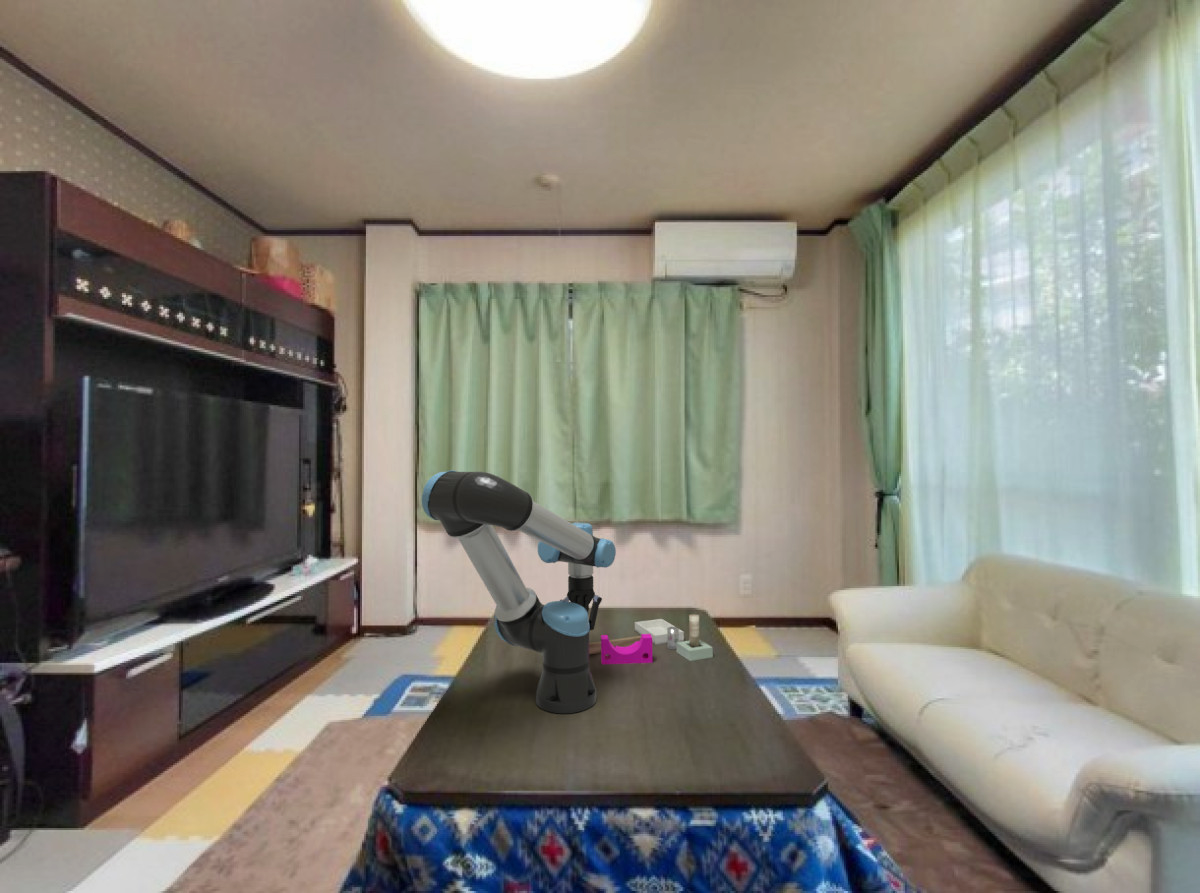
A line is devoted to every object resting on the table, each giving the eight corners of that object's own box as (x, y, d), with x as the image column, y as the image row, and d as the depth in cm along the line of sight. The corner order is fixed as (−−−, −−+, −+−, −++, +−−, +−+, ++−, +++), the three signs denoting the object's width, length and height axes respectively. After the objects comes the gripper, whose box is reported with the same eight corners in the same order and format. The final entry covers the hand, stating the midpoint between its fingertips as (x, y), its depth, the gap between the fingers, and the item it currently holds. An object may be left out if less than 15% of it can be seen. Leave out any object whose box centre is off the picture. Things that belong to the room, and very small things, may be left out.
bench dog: (680, 648, 173) (680, 629, 173) (670, 650, 172) (670, 631, 172) (675, 645, 176) (675, 626, 176) (665, 646, 175) (665, 627, 175)
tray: (683, 640, 180) (683, 631, 180) (655, 645, 176) (655, 635, 176) (661, 627, 195) (661, 618, 195) (634, 630, 191) (634, 622, 191)
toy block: (649, 655, 168) (649, 631, 168) (652, 663, 162) (652, 638, 162) (600, 657, 167) (600, 632, 167) (601, 665, 161) (601, 639, 161)
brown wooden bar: (647, 645, 176) (647, 636, 176) (582, 655, 168) (582, 645, 168) (645, 644, 177) (645, 635, 177) (581, 653, 169) (581, 643, 169)
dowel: (701, 655, 167) (700, 616, 167) (692, 657, 166) (692, 617, 166) (696, 652, 170) (695, 613, 170) (687, 653, 169) (687, 614, 169)
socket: (712, 657, 165) (712, 647, 165) (689, 661, 163) (689, 650, 163) (698, 648, 173) (698, 639, 173) (676, 652, 170) (676, 642, 170)
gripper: (596, 570, 169) (597, 647, 169) (556, 574, 164) (556, 653, 164) (605, 575, 162) (606, 655, 162) (563, 579, 157) (564, 662, 157)
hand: (581, 654), depth 163 cm, fingers closed
